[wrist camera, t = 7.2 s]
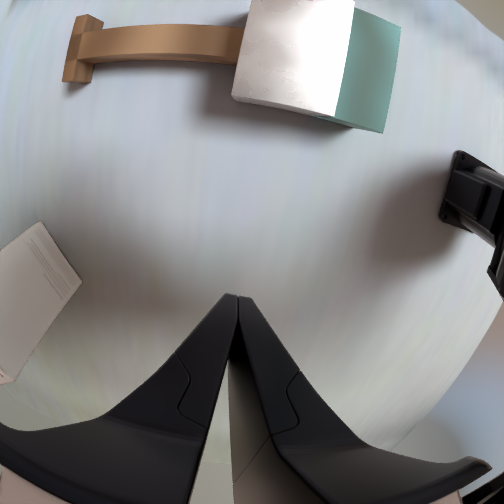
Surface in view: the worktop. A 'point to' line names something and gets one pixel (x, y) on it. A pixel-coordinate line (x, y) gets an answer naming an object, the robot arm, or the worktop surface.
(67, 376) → the worktop surface
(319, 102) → the block
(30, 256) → the supplement box
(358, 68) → the track
